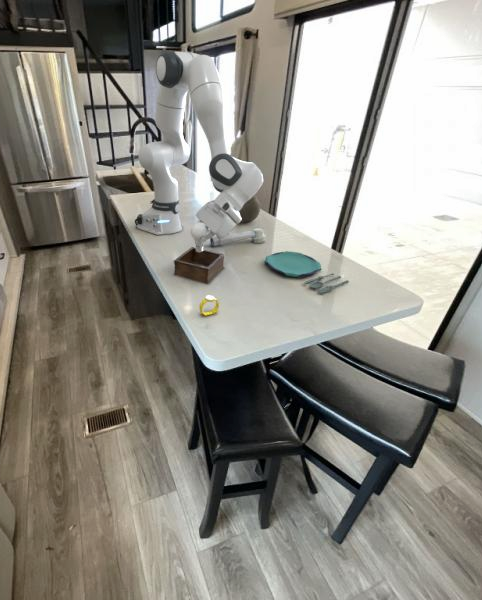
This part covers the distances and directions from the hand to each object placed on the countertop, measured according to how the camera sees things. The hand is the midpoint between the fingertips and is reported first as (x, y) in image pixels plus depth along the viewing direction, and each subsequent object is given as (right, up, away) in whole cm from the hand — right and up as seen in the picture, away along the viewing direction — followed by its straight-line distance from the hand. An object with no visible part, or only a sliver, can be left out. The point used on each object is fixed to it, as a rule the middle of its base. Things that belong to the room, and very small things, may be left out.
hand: (198, 236), depth 112 cm
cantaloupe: (+25, +18, +53) cm, 61 cm away
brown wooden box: (+1, -12, +8) cm, 14 cm away
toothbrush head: (+18, +3, +30) cm, 35 cm away
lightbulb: (+1, -5, +4) cm, 6 cm away
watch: (+3, -27, -15) cm, 31 cm away
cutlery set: (+39, -12, +8) cm, 42 cm away
